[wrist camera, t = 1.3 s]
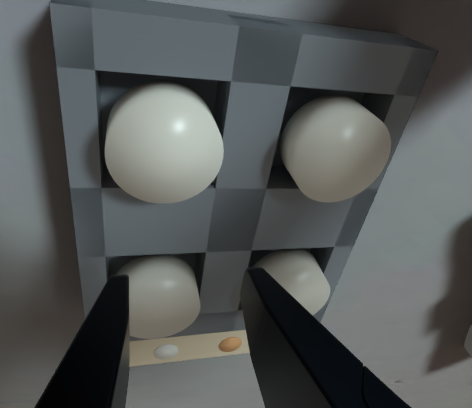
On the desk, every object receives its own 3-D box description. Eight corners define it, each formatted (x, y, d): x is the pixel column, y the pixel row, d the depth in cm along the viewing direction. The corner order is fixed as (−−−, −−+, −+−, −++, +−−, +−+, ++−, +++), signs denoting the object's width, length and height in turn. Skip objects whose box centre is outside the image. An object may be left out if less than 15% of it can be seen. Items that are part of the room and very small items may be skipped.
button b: (220, 84, 15) (231, 103, 14) (208, 178, 18) (216, 203, 16) (104, 75, 14) (101, 95, 12) (108, 177, 17) (107, 204, 15)
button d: (198, 251, 20) (204, 279, 19) (191, 306, 23) (196, 334, 21) (112, 255, 19) (110, 285, 18) (114, 312, 22) (113, 342, 20)
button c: (325, 246, 22) (340, 270, 21) (306, 296, 25) (318, 322, 23) (254, 249, 21) (264, 275, 20) (241, 302, 24) (249, 329, 22)
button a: (381, 97, 17) (406, 115, 16) (350, 180, 20) (369, 202, 18) (292, 90, 16) (309, 109, 15) (271, 178, 19) (284, 203, 17)
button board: (398, 34, 18) (438, 51, 16) (304, 289, 29) (320, 322, 26) (61, -11, 14) (48, 2, 12) (91, 304, 25) (87, 345, 22)
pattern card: (282, 299, 29) (284, 303, 28) (267, 347, 32) (268, 351, 32) (116, 313, 26) (116, 317, 25) (118, 364, 29) (118, 369, 29)
